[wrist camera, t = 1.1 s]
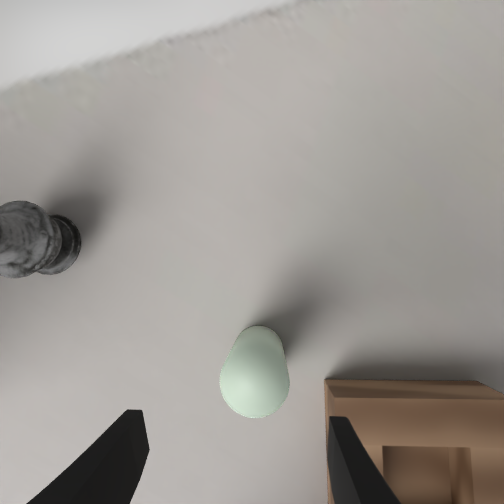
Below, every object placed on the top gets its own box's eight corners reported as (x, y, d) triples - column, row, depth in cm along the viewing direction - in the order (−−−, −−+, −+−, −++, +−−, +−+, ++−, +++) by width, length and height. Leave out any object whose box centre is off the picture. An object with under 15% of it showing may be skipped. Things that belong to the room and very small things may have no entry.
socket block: (488, 543, 21) (532, 596, 18) (329, 537, 22) (340, 586, 18) (476, 380, 22) (514, 399, 19) (324, 379, 23) (334, 397, 20)
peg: (283, 376, 23) (290, 418, 16) (234, 376, 23) (219, 417, 16) (282, 325, 24) (288, 345, 17) (233, 325, 24) (219, 345, 17)
